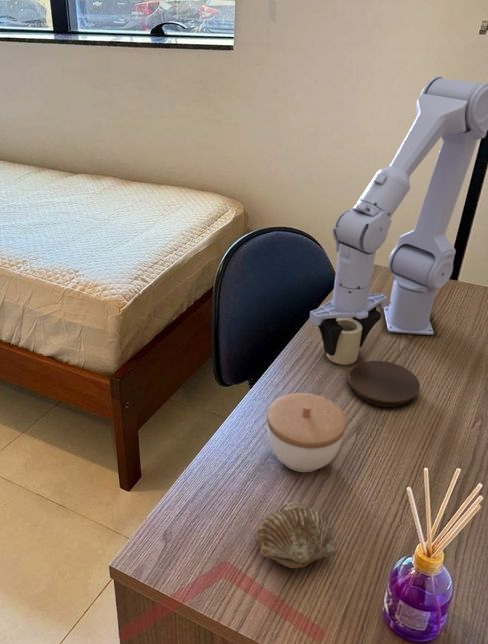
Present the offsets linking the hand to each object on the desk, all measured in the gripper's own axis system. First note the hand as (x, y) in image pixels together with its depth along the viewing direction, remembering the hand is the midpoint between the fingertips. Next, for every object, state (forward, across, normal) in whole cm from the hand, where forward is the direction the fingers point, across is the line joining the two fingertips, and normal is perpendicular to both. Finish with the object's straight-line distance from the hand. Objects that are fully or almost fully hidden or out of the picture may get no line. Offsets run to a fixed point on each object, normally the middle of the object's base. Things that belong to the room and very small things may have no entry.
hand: (342, 348), depth 107 cm
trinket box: (+2, -21, -18) cm, 28 cm away
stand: (+2, 0, -11) cm, 11 cm away
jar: (+2, 0, 0) cm, 2 cm away
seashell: (+2, -31, -32) cm, 45 cm away
